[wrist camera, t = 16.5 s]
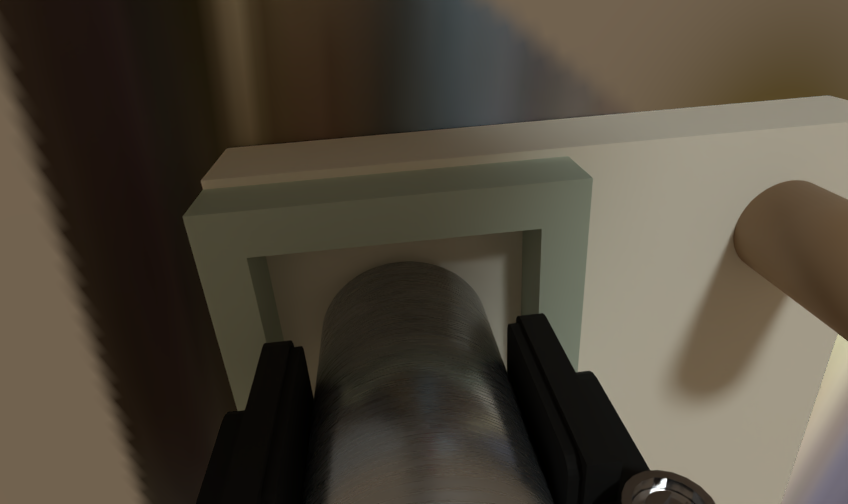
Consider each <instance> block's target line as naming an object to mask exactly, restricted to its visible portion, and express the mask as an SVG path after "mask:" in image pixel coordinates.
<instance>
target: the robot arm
mask: <svg viewBox="0 0 848 504" xmlns="http://www.w3.org/2000/svg"><path fill="white" fill-rule="evenodd" d="M507 374H508V376H509V379H510V382H511V385H512V388H513V390H514V393H515V396H516V399H517V401H518V404H519V407H520V410H521V413H522V415H523V418H524V421H525V424H526V427H527V429H528V432H529V435H530V438H531V441H532V443H533V446H534V449H535V452H536V454H537V457H538V460H539V463H540V466H541V468H542V471H543V474H544V477H545V480H546V482H547V485H548V488H549V491H550V493H551V496H552V499H553V502H554V504H715V502H714V500H713V499H712V497H711V496H710V495H709V494H708V493H707V492H706V491H705V490H704V489H703V488H702V487H701V486H699V485H698V484H696V483H694V482H693V481H691V480H690V479H688V478H686V477H684V476H681V475H678V474H676V473H673V472H668V471H661V470H651V471H650V469H649V467H648V465H647V464H646V462H645V460H644V458H643V457H642V455H641V453H640V452H639V450H638V448H637V446H636V445H635V443H634V441H633V439H632V438H631V436H630V434H629V433H628V431H627V429H626V427H625V426H624V424H623V422H622V420H621V419H620V417H619V415H618V413H617V412H616V410H615V408H614V407H613V405H612V403H611V401H610V400H609V398H608V396H607V394H606V393H605V391H604V389H603V387H602V386H601V384H600V382H599V381H598V379H597V377H596V376H595V375H594V373H593V372H591V371H583V372H575V370H574V368H573V366H572V364H571V362H570V361H569V359H568V357H567V355H566V353H565V351H564V349H563V347H562V346H561V344H560V342H559V340H558V338H557V336H556V334H555V332H554V331H553V329H552V327H551V325H550V323H549V321H548V319H547V317H546V316H545V314H543V313H539V314H530V315H521V316H517V318H516V323H510V324H508V327H507ZM313 403H314V398H313V393H312V388H311V383H310V378H309V373H308V367H307V362H306V357H305V352H304V349H303V347H302V346H298V347H294V344H293V342H292V341H291V340H289V341H280V342H270V343H264V344H263V347H262V350H261V354H260V357H259V361H258V364H257V368H256V372H255V375H254V379H253V383H252V386H251V390H250V393H249V397H248V401H247V404H246V408H245V410H242V411H233V412H228V413H227V414H226V415H225V416H224V419H223V421H222V424H221V427H220V430H219V433H218V436H217V439H216V443H215V446H214V449H213V452H212V455H211V458H210V461H209V464H208V468H207V471H206V474H205V477H204V480H203V483H202V486H201V489H200V493H199V496H198V499H197V502H196V504H301V503H302V495H303V487H304V478H305V470H306V461H307V453H308V445H309V436H310V428H311V419H312V411H313Z"/></svg>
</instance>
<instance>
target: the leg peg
mask: <svg viewBox="0 0 848 504" xmlns="http://www.w3.org/2000/svg"><path fill="white" fill-rule="evenodd" d="M301 504H554V502H553V499H552V496H551V493H550V491H549V488H548V485H547V482H546V480H545V477H544V474H543V471H542V468H541V466H540V463H539V460H538V457H537V454H536V452H535V449H534V446H533V443H532V441H531V438H530V435H529V432H528V429H527V427H526V424H525V421H524V418H523V415H522V413H521V410H520V407H519V404H518V401H517V399H516V396H515V393H514V390H513V388H512V385H511V382H510V379H509V376H508V374H507V371H506V368H505V365H504V362H503V360H502V357H501V354H500V351H499V349H498V346H497V343H496V340H495V337H494V335H493V332H492V329H491V326H490V323H489V321H488V318H487V315H486V312H485V310H484V307H483V305H482V302H481V300H480V298H479V297H478V295H477V293H476V292H475V291H474V290H473V288H472V287H471V286H470V285H469V284H468V283H467V282H466V281H465V280H463V279H462V278H461V277H459V276H458V275H456V274H455V273H453V272H451V271H449V270H447V269H445V268H442V267H439V266H437V265H433V264H429V263H424V262H414V261H406V262H394V263H388V264H384V265H381V266H377V267H375V268H372V269H370V270H367V271H365V272H363V273H361V274H360V275H358V276H356V277H355V278H353V279H352V280H351V281H349V282H348V283H347V284H346V285H345V286H344V287H343V288H342V289H340V291H339V292H338V293H337V294H336V296H335V297H334V298H333V300H332V302H331V303H330V305H329V307H328V309H327V312H326V314H325V317H324V321H323V327H322V335H321V344H320V352H319V361H318V369H317V377H316V386H315V394H314V403H313V411H312V419H311V428H310V436H309V445H308V453H307V461H306V470H305V478H304V487H303V495H302V503H301Z"/></svg>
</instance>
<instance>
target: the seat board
mask: <svg viewBox="0 0 848 504" xmlns="http://www.w3.org/2000/svg"><path fill="white" fill-rule="evenodd" d="M201 184H202V188H203V190H202V192H201V193H200V194H199V195H198V197H197V198H196V199H195V201H194V202H193V203H192V205H191V206H190V207H189V209H188V210H187V211H186V213H185V214H184V215H183V216H182V217H183V221H184V225H185V228H186V232H187V235H188V239H189V242H190V246H191V249H192V253H193V256H194V260H195V263H196V267H197V270H198V274H199V277H200V281H201V284H202V288H203V291H204V295H205V298H206V302H207V305H208V309H209V312H210V316H211V320H212V323H213V327H214V330H215V334H216V337H217V341H218V344H219V348H220V351H221V355H222V358H223V362H224V365H225V369H226V372H227V376H228V379H229V383H230V386H231V390H232V393H233V397H234V400H235V404H236V407H237V411H242V410H245V408H246V404H247V401H248V397H249V393H250V390H251V386H252V383H253V379H254V375H255V372H256V368H257V364H258V361H259V357H260V354H261V350H262V347H263V344H264V343H270V342H280V341H289V340H291V341H292V342H293V344H294V347H298V346H302V347H303V349H304V352H305V357H306V362H307V367H308V373H309V378H310V383H311V388H312V393H313V398H314V394H315V386H316V377H317V369H318V361H319V352H320V344H321V335H322V327H323V321H324V317H325V314H326V312H327V309H328V307H329V305H330V303H331V302H332V300H333V298H334V297H335V296H336V294H337V293H338V292H339V291H340V289H342V288H343V287H344V286H345V285H346V284H347V283H348V282H349V281H351V280H352V279H353V278H355V277H356V276H358V275H360V274H361V273H363V272H365V271H367V270H370V269H372V268H375V267H377V266H381V265H384V264H388V263H394V262H406V261H414V262H424V263H429V264H433V265H437V266H439V267H442V268H445V269H447V270H449V271H451V272H453V273H455V274H456V275H458V276H459V277H461V278H462V279H463V280H465V281H466V282H467V283H468V284H469V285H470V286H471V287H472V288H473V290H474V291H475V292H476V293H477V295H478V297H479V298H480V300H481V302H482V305H483V307H484V310H485V312H486V315H487V318H488V321H489V323H490V326H491V329H492V332H493V335H494V337H495V340H496V343H497V346H498V349H499V351H500V354H501V357H502V360H503V362H504V365H505V368H506V371H507V327H508V324H510V323H516V318H517V316H521V315H530V314H539V313H543V314H545V316H546V317H547V319H548V321H549V323H550V325H551V327H552V329H553V331H554V332H555V334H556V336H557V338H558V340H559V342H560V344H561V346H562V347H563V349H564V351H565V353H566V355H567V357H568V359H569V361H570V362H571V364H572V366H573V368H574V370H575V372H583V371H591V372H593V373H594V375H595V376H596V377H597V379H598V381H599V382H600V384H601V386H602V387H603V389H604V391H605V393H606V394H607V396H608V398H609V400H610V401H611V403H612V405H613V407H614V408H615V410H616V412H617V413H618V415H619V417H620V419H621V420H622V422H623V424H624V426H625V427H626V429H627V431H628V433H629V434H630V436H631V438H632V439H633V441H634V443H635V445H636V446H637V448H638V450H639V452H640V453H641V455H642V457H643V458H644V460H645V462H646V464H647V465H648V467H649V469H650V471H651V470H661V471H668V472H673V473H676V474H678V475H681V476H684V477H686V478H688V479H690V480H691V481H693V482H694V483H696V484H698V485H699V486H701V487H702V488H703V489H704V490H705V491H706V492H707V493H708V494H709V495H710V496H711V497H712V499H713V500H714V502H715V504H781V502H782V499H783V496H784V493H785V490H786V487H787V484H788V481H789V478H790V475H791V472H792V469H793V466H794V463H795V460H796V457H797V454H798V451H799V448H800V445H801V442H802V439H803V436H804V433H805V430H806V427H807V424H808V421H809V418H810V415H811V412H812V409H813V406H814V403H815V400H816V397H817V394H818V391H819V388H820V385H821V382H822V379H823V376H824V373H825V370H826V367H827V364H828V361H829V358H830V355H831V352H832V349H833V346H834V343H835V340H836V337H837V334H839V335H841V336H842V337H843V338H845V339H846V340H847V341H848V100H844V99H841V98H837V97H832V96H829V95H828V96H817V97H806V98H794V99H783V100H771V101H760V102H749V103H738V104H725V105H716V106H715V105H714V106H703V107H691V108H680V109H669V110H657V111H646V112H634V113H623V114H611V115H600V116H589V117H577V118H566V119H554V120H543V121H531V122H520V123H509V124H497V125H486V126H474V127H463V128H452V129H440V130H429V131H417V132H406V133H395V134H383V135H372V136H360V137H349V138H338V139H326V140H315V141H303V142H292V143H280V144H269V145H258V146H246V147H235V148H227V149H226V150H225V151H224V152H223V154H222V155H221V156H220V157H219V159H218V160H217V161H216V162H215V164H214V165H213V166H212V167H211V169H210V170H209V171H208V172H207V173H206V175H205V176H204V177H203V178H202V180H201Z"/></svg>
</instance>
